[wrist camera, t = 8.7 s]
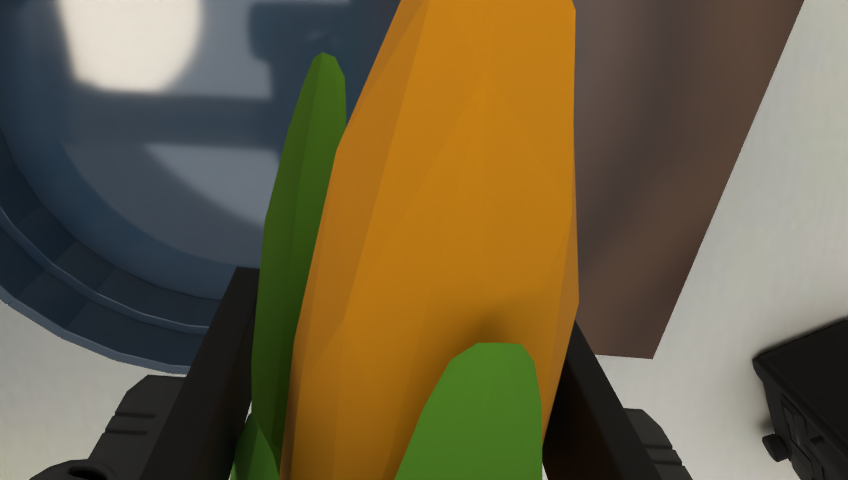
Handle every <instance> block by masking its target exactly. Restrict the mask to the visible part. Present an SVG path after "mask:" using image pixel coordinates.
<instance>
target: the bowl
mask: <svg viewBox="0 0 848 480" xmlns="http://www.w3.org/2000/svg"><path fill="white" fill-rule="evenodd" d="M400 2H401V0H0V299H1V300H2V301H3V302H4V303H5V304H8V306H10V307H11V308H13V309H15V310H16V311H18V312H19V313H21V314H23V315H24V316H26V317H27V318H29V319H31V320H32V321H34V322H35V323H37V324H39V325H40V326H42V327H44V328H45V329H47V330H48V331H50V332H52V333H53V334H55V335H56V336H58V337H60V338H62V339H64V340H67V341H69V342H71V343H74V344H76V345H79V346H81V347H83V348H86V349H88V350H91V351H93V352H95V353H98V354H100V355H103V356H105V357H108V358H110V359H112V360H115V361H119V362H123V363H127V364H132V365H136V366H140V367H144V368H149V369H153V370H157V371H161V372H166V373H171V374H186V375H187V374H188V372H189V370H190V367H191V365H192V363H193V361H194V359H195V357H196V354H197V352H198V350H199V348H200V346H201V344H202V341H203V339H204V337H205V335H206V333H207V330H208V328H209V326H210V324H211V322H212V320H213V317H214V315H215V313H216V311H217V309H218V307H219V304H220V302H221V300H222V298H223V296H224V293H225V291H226V289H227V287H228V285H229V283H230V280H231V278H232V276H233V274H234V272H235V270H236V267H237V266H238V267H248V268H258V269H260V265H261V254H262V244H263V233H264V223H265V218H266V214H267V210H268V206H269V202H270V198H271V195H272V191H273V187H274V183H275V179H276V175H277V171H278V167H279V163H280V159H281V155H282V151H283V147H284V144H285V140H286V136H287V132H288V128H289V125H290V122H291V119H292V116H293V113H294V110H295V107H296V104H297V101H298V98H299V95H300V92H301V89H302V86H303V83H304V80H305V78H306V75H307V73H308V70H309V68H310V66H311V63H312V61H313V58H314V57H316V56H317V55H319V54H320V53H322V52H323V53H326V54H329V55H331V56H334V57H335V58H336V60H337V62H338V65H339V67H340V69H341V71H342V73H343V75H344V77H345V96H346V127H347V125H348V122H349V120H350V118H351V115H352V113H353V111H354V108H355V106H356V104H357V101H358V99H359V97H360V94H361V92H362V90H363V87H364V85H365V83H366V81H367V78H368V76H369V74H370V71H371V69H372V67H373V64H374V62H375V60H376V57H377V55H378V53H379V50H380V48H381V46H382V43H383V41H384V39H385V36H386V34H387V32H388V29H389V27H390V25H391V22H392V20H393V18H394V16H395V13H396V11H397V9H398V6H399V4H400Z"/></svg>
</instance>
